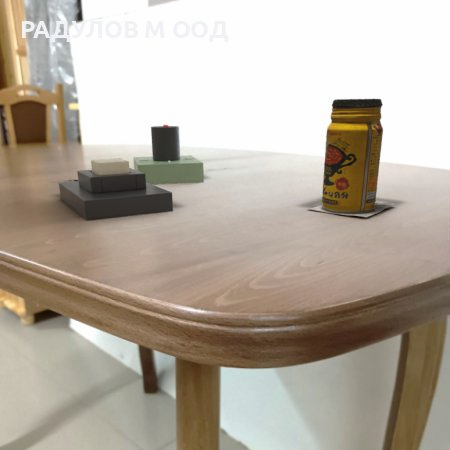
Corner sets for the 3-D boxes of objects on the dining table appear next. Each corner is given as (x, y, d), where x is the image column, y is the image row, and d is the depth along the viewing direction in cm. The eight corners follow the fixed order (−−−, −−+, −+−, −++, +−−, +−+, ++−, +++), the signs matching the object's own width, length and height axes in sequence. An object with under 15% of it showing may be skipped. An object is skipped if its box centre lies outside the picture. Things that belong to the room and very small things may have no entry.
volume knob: (151, 158, 80) (149, 124, 78) (178, 157, 81) (176, 123, 79) (154, 161, 76) (152, 125, 74) (182, 160, 77) (180, 125, 75)
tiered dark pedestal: (60, 199, 64) (56, 168, 62) (134, 192, 68) (132, 163, 66) (86, 221, 52) (82, 183, 51) (173, 211, 56) (171, 176, 55)
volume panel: (134, 175, 84) (133, 156, 83) (191, 173, 86) (191, 154, 85) (139, 185, 74) (137, 163, 73) (203, 182, 76) (203, 161, 75)
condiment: (306, 210, 57) (313, 98, 52) (340, 199, 63) (348, 98, 58) (366, 219, 52) (379, 98, 48) (395, 206, 58) (409, 98, 54)
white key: (92, 174, 59) (90, 159, 59) (121, 172, 61) (119, 158, 60) (100, 178, 56) (98, 163, 56) (130, 176, 58) (128, 161, 57)
